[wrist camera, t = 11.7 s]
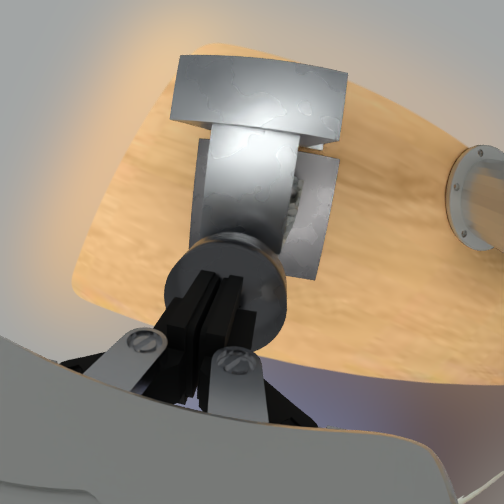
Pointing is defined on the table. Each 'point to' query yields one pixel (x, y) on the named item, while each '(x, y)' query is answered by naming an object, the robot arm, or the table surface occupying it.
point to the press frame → (262, 150)
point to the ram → (239, 264)
